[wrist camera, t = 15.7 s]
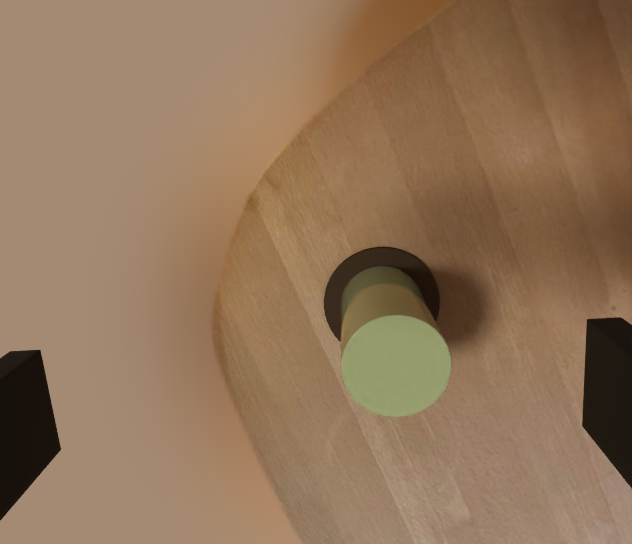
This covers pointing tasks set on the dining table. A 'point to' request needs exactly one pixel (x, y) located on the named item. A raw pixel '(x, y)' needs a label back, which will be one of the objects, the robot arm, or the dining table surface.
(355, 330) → the canister
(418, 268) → the coaster
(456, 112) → the dining table surface
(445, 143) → the dining table surface
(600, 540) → the dining table surface
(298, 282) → the dining table surface
